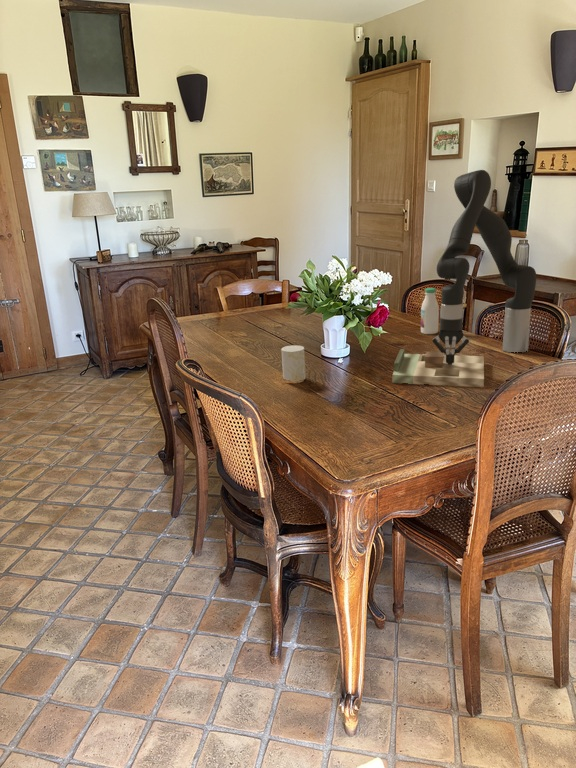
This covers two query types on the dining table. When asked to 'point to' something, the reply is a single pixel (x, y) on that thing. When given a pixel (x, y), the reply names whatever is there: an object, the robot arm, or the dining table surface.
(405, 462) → the dining table surface
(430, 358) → the walnut block
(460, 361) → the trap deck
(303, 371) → the grey beige cylinder
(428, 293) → the milk bottle
